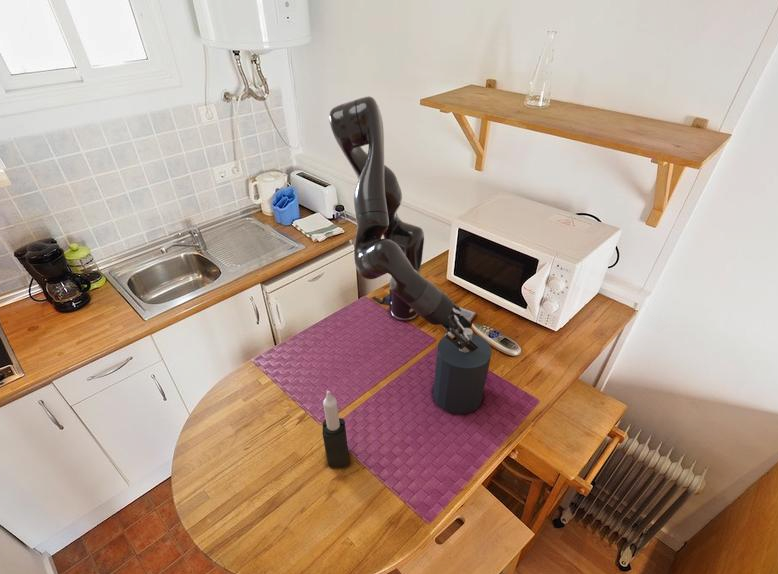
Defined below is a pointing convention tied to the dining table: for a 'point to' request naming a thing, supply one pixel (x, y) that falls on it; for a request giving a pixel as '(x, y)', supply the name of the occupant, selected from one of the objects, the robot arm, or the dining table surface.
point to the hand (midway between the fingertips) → (471, 337)
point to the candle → (334, 434)
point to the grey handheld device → (467, 314)
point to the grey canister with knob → (461, 374)
